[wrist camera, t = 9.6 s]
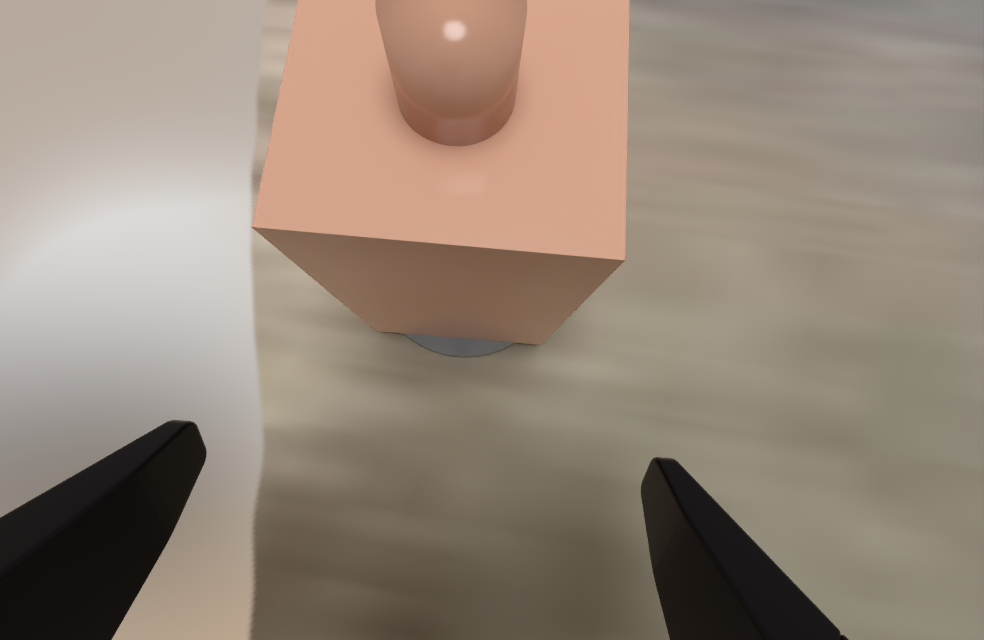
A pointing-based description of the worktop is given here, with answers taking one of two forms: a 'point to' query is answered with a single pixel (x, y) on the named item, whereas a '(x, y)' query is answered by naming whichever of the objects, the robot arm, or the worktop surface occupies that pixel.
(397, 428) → the worktop surface
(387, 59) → the pink square bottle
